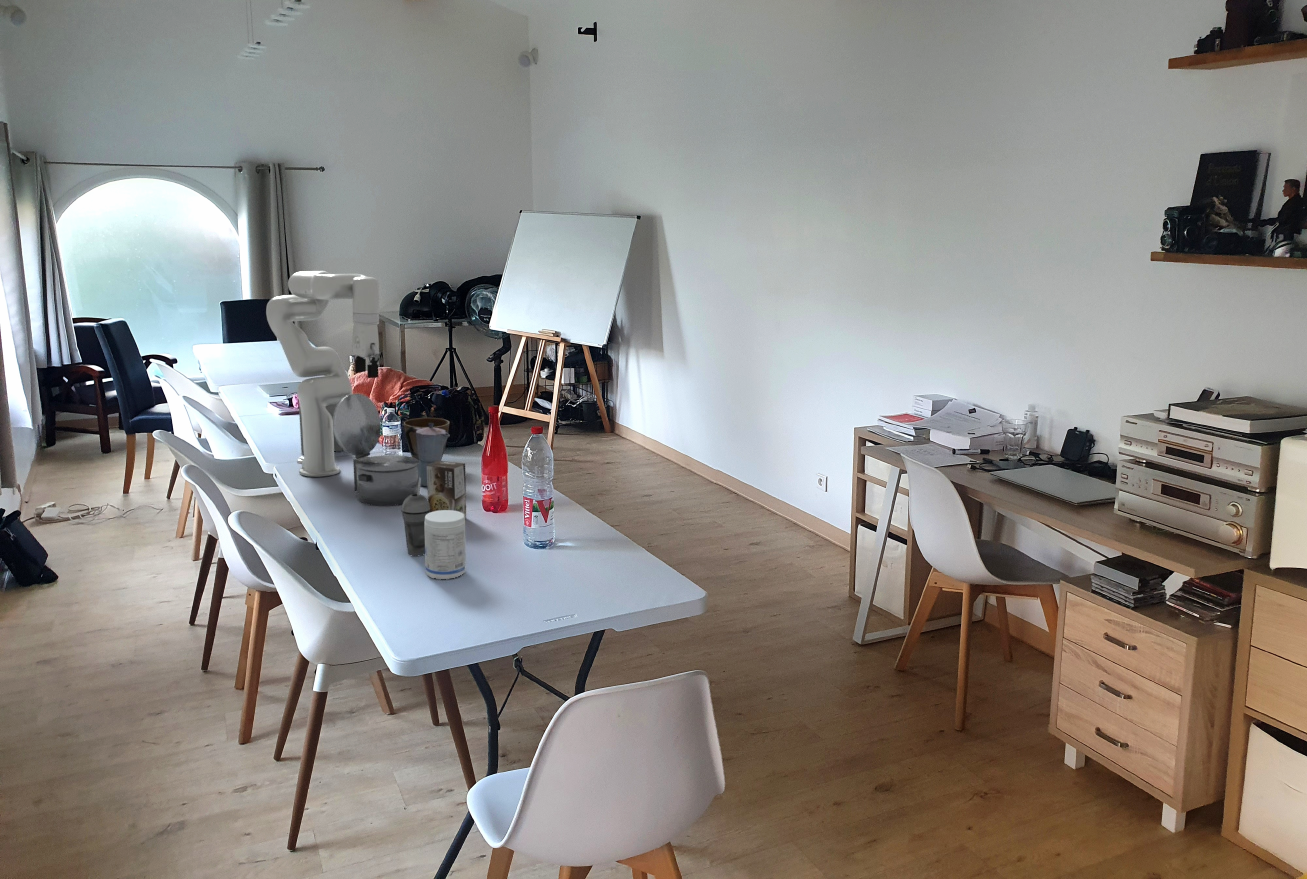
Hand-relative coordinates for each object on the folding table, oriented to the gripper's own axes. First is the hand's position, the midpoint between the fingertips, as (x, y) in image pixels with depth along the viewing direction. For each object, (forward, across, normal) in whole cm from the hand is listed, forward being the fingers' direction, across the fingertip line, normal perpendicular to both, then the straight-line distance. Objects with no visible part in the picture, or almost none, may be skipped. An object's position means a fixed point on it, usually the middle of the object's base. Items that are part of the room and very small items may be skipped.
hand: (366, 374), depth 291 cm
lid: (+15, +3, -4) cm, 16 cm away
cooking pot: (+36, +13, +1) cm, 38 cm away
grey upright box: (+38, -54, +4) cm, 66 cm away
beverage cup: (+34, +64, -12) cm, 73 cm away
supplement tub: (+33, +81, -13) cm, 88 cm away
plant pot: (+37, -13, +26) cm, 47 cm away
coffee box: (+35, +42, +7) cm, 55 cm away
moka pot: (+36, +4, +18) cm, 41 cm away
